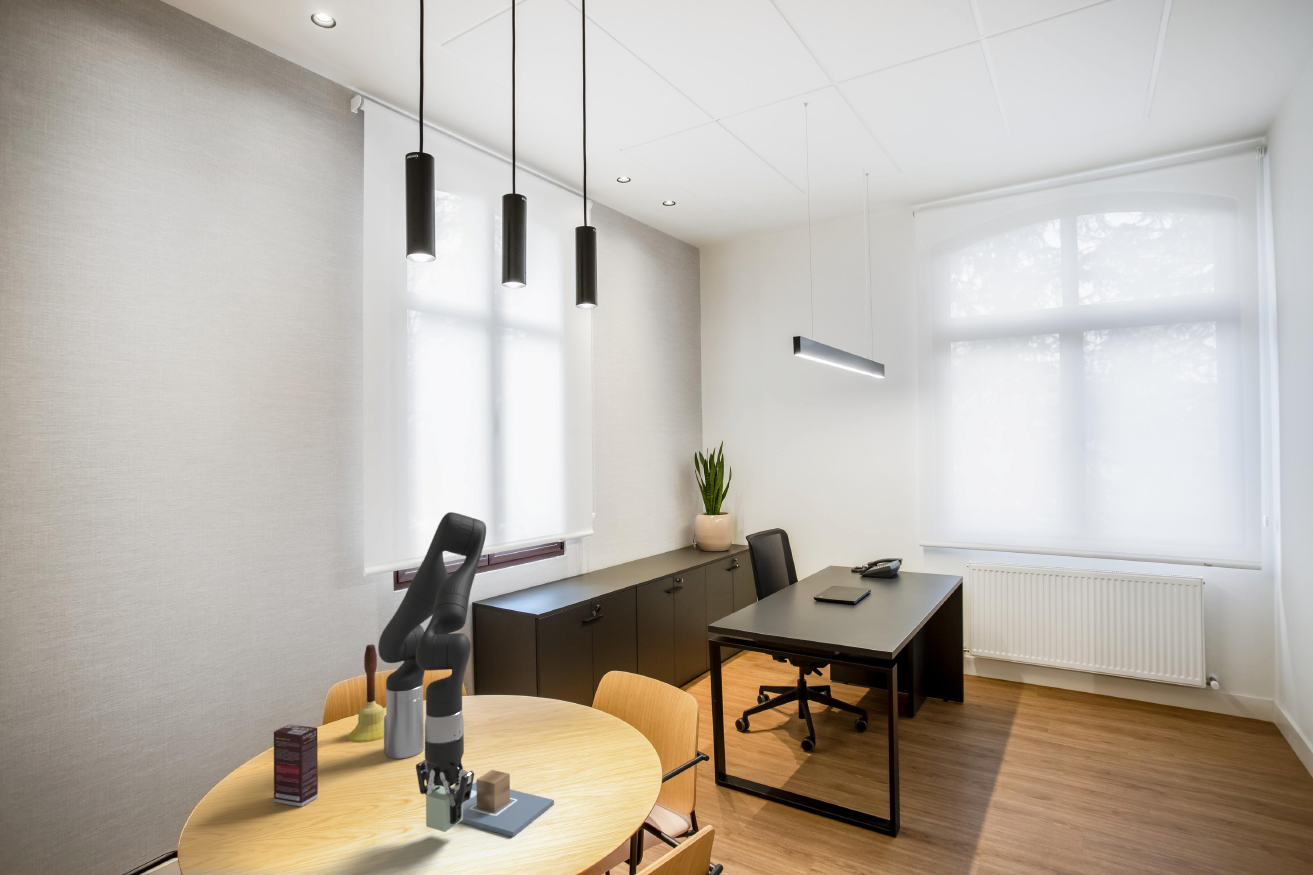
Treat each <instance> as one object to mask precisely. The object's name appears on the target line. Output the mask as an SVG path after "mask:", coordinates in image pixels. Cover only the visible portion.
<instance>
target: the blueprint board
mask: <svg viewBox="0 0 1313 875" xmlns="http://www.w3.org/2000/svg"><path fill="white" fill-rule="evenodd" d="M554 805H555V800H554V799H552V798H548V797H543V796H540V795H536V794H532V793H527V792H522V791H518V790H514V789H511V788H510V802H509V803H507V804H506V805H505V806H503V807H502V808H500V809H499V810H498V811H496V812H491V811H487V810H484V809H480V808H477V786H476V781H475V782H473V785H472V790H471V796H470V799H469V800H467V801H465V802H464V803H463V820H462V821H460V822H459V823H463V824H465V825H470V826H472V827H473V826H474V827H476V828H479V829H483V830H487V831H490V832H494V833H497V834H501V835H505V836H508V837H511V838H514V837H516V836H517V835H518V834H519V833H520V832H522V831H523V830H524V829H525V828H527V827H528V826H529V825H530V824H532V823H533V822H534V821H535V820H537V819H538V818H539V817H541V816H542V815H543V814H544V813H545V812H547V811H548V810H550V809H551V808H552V807H553V806H554Z"/></svg>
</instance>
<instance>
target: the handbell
mask: <svg viewBox="0 0 1313 875" xmlns="http://www.w3.org/2000/svg"><path fill="white" fill-rule="evenodd" d="M377 656H378V655H377V649H376V646H375V644H367V645H366V646H365V652H364V656H363V661H364V662H363V665H364V666H363V667H364V673H365V674H366V703H365V705H364V706H362V707H361V708H360V710H359V711H358V720H357V722H358V723H357V724H356V726H355V727H354V728H353V729H352V731H351V732H350V733H348V735H347V740H348V741H349V742H352V743H357V744H358V743H360V744H362V743H371V742H375V741H376V742H377V741H380V740H384V716H385V715H384V708H383V706H382V705H380V704H378V703H377V702H376V671H377V668H378V657H377Z"/></svg>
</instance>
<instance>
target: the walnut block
mask: <svg viewBox="0 0 1313 875" xmlns="http://www.w3.org/2000/svg"><path fill="white" fill-rule="evenodd" d="M475 782H476V786H477V808H480V809H484V810H487V811H491V812H496V811H498V810H499V809H500V808H502V807H503V806H505V805H506V804H507V803H509V802H510V789H511V785H510V784H511V783H510V773H507V772H503V771H499V770H495V769H490V770H488V772H486V773H484V774H482V775H481V776H479V777H478V778H476V780H475Z"/></svg>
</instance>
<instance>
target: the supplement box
mask: <svg viewBox="0 0 1313 875" xmlns="http://www.w3.org/2000/svg"><path fill="white" fill-rule="evenodd" d="M318 752H319V751H318V727H313V726H304V725H297V724H288V725H286V726H283V727H280V728H278V729H276V730H274V731H273V802H274V803H278V804H285V805H289V806H295V807H300V808H301V807H303V806H306V805H308V804H309V803H311V802H313V801H314V800H316V799H317V798H318V797H319V794H318V790H319V787H318V786H319V782H318V778H319V777H318V775H319V774H318V763H319V762H318V757H319V756H318Z"/></svg>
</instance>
